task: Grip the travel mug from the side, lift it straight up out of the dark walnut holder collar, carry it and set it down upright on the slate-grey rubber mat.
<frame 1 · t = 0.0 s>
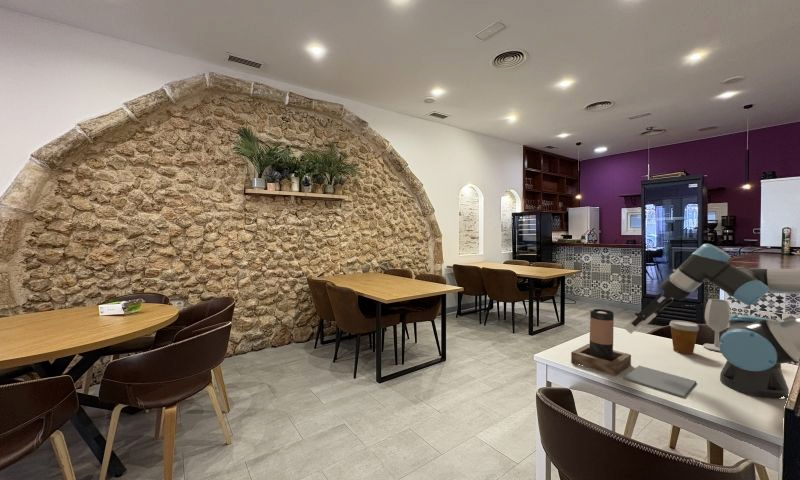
hand: (634, 327, 121), 15 cm above the table, tool tilted 35°, fingers open, 13 cm apart
travel mug: (600, 364, 126), resting in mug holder
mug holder: (600, 363, 126), on the table
disposable coffee cup: (683, 352, 139), on the table
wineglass: (716, 349, 142), on the table
rubber mat: (659, 380, 112), on the table
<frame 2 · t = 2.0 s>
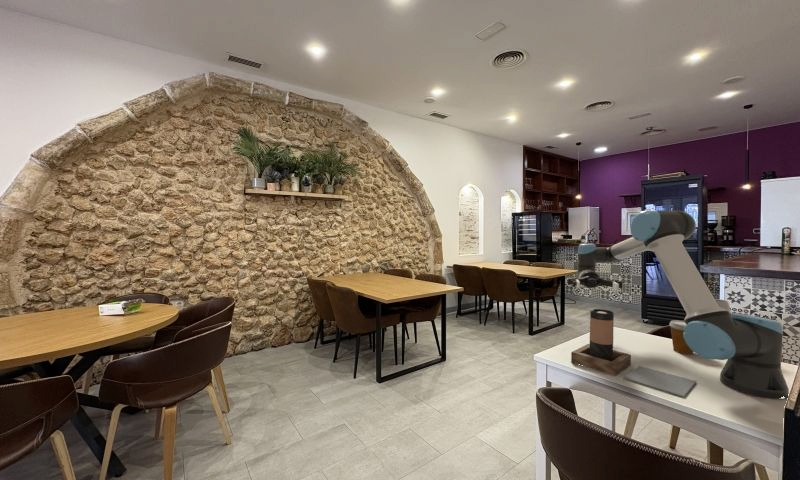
hand: (597, 286, 134), 28 cm above the table, tool horizontal, fingers open, 13 cm apart
nothing on the table moved.
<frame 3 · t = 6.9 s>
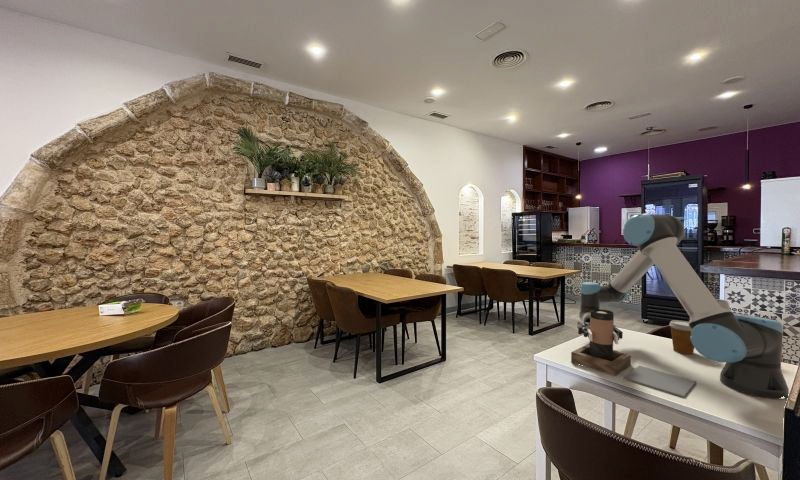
hand: (603, 338, 121), 11 cm above the table, tool horizontal, fingers closed on travel mug, 7 cm apart
travel mug: (600, 364, 126), resting in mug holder, touching gripper
everything else where it was.
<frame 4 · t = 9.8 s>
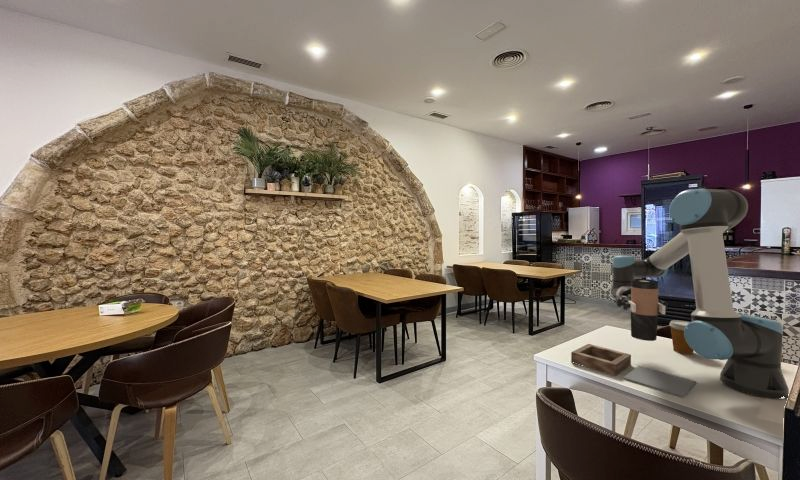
hand: (649, 309, 111), 24 cm above the table, tool horizontal, fingers closed on travel mug, 7 cm apart
travel mug: (643, 338, 116), point 13 cm above the table, touching gripper
everything else where it was.
when the fingers open (12 cm above the table, at t = 12.9 s): travel mug stays where it is, resting on rubber mat.
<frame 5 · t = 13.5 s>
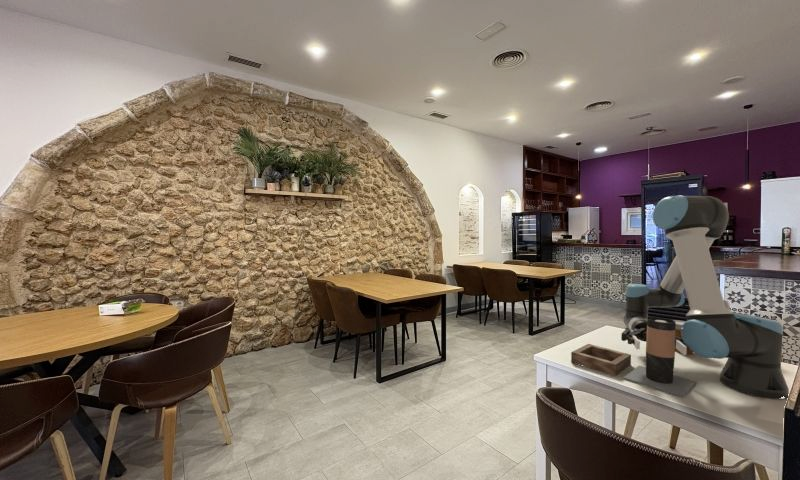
hand: (661, 348, 108), 12 cm above the table, tool horizontal, fingers open, 12 cm apart
travel mug: (659, 379, 112), resting on rubber mat
everything else where it was.
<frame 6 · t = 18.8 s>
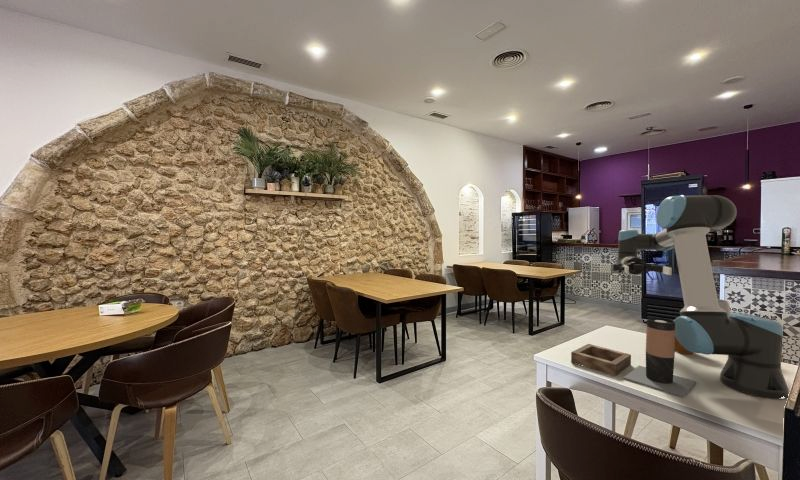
hand: (648, 270, 128), 35 cm above the table, tool horizontal, fingers open, 13 cm apart
nothing on the table moved.
at the end: travel mug inside the target area on the rubber mat (0.1 cm from its centre), point 0.4 cm above the rubber mat's base; travel mug tilted 0°; the gripper is holding nothing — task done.
